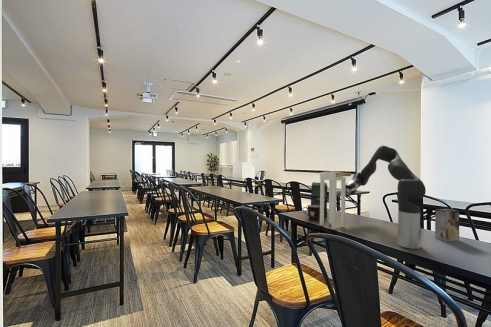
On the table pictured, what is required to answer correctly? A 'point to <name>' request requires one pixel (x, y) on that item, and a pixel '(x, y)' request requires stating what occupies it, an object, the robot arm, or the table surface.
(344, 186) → the white stand
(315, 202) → the headset box
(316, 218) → the coffee mug
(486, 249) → the table surface
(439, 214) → the coffee box
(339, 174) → the oak paddle
